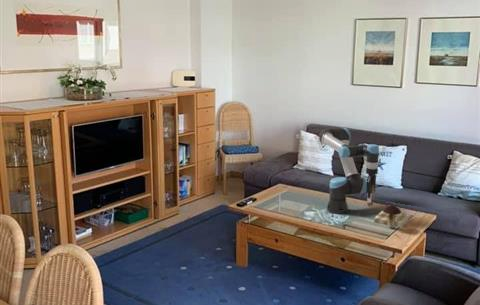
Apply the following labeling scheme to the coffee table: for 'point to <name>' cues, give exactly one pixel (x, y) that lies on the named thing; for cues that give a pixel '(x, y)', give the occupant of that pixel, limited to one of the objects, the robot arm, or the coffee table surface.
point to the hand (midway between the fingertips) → (370, 201)
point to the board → (384, 217)
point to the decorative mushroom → (392, 214)
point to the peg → (372, 197)
